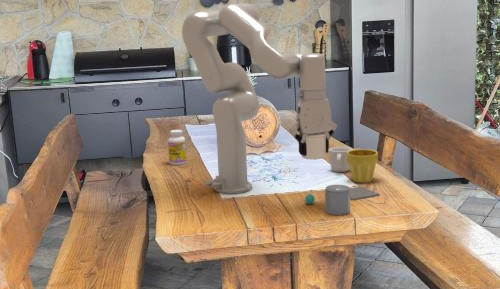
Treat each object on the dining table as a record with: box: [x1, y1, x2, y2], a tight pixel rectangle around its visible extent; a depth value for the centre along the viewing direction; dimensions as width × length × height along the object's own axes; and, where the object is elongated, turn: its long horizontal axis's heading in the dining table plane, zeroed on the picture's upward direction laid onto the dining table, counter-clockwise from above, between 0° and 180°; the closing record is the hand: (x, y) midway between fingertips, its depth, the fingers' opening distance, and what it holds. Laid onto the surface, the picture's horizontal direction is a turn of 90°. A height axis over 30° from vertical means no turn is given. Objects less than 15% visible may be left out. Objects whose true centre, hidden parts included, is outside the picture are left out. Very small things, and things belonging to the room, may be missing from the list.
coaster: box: [349, 186, 380, 201], centre depth 231 cm, size 10×10×1 cm
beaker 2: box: [324, 184, 351, 216], centre depth 213 cm, size 7×7×7 cm
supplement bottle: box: [167, 129, 187, 166], centre depth 279 cm, size 7×7×13 cm
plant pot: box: [347, 148, 379, 184], centre depth 246 cm, size 10×10×10 cm
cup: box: [328, 146, 352, 173], centre depth 258 cm, size 11×8×8 cm
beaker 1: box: [301, 133, 327, 160], centre depth 219 cm, size 7×7×7 cm
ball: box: [304, 193, 316, 205], centre depth 222 cm, size 3×3×3 cm
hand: (313, 152), depth 220 cm, fingers closed on beaker 1, 6 cm apart
